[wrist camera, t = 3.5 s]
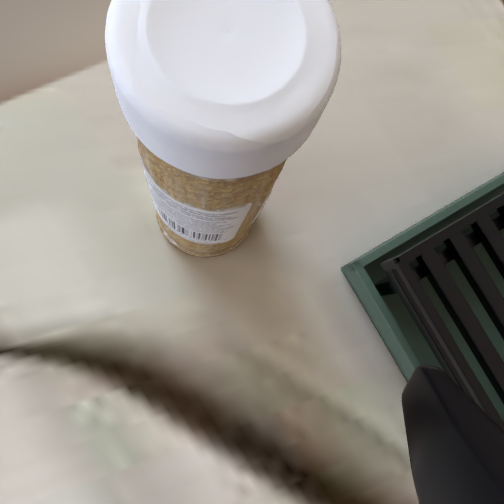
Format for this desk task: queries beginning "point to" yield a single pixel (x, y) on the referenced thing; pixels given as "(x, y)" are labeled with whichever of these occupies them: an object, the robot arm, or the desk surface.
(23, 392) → the desk surface
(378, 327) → the drip tray
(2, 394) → the desk surface
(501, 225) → the rack
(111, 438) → the desk surface
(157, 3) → the sprinkles bottle
